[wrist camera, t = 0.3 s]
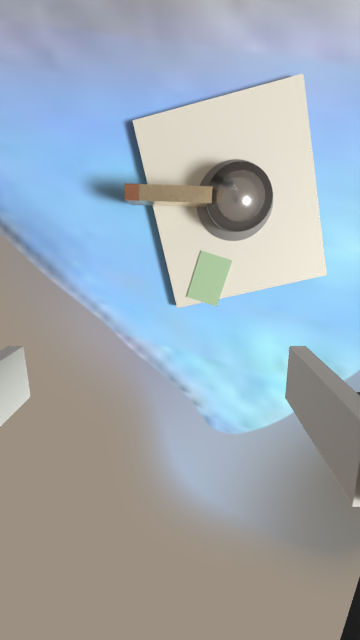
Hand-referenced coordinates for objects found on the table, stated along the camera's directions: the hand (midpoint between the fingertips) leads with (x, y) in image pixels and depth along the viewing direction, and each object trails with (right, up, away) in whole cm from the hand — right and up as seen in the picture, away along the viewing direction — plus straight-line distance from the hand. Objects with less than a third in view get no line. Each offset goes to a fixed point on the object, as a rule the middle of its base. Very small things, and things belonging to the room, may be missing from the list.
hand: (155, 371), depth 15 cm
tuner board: (+8, +17, +22) cm, 29 cm away
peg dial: (+3, +17, +21) cm, 27 cm away
